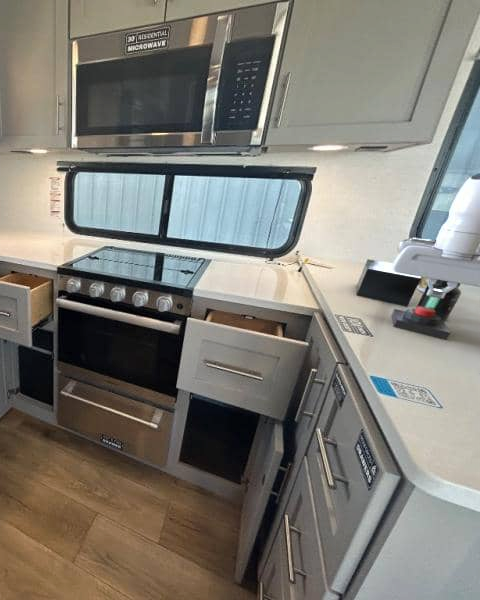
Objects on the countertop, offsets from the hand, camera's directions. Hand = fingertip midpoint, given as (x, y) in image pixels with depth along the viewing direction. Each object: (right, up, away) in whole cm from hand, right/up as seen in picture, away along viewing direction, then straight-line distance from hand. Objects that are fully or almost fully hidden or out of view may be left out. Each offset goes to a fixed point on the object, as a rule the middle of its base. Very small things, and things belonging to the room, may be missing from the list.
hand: (434, 296), depth 84 cm
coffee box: (+33, +1, +31) cm, 46 cm away
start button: (-1, -5, +2) cm, 5 cm away
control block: (-1, -8, +4) cm, 9 cm away
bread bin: (+10, +1, +27) cm, 28 cm away
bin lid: (+10, +9, +23) cm, 27 cm away
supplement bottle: (+11, -6, +12) cm, 17 cm away
